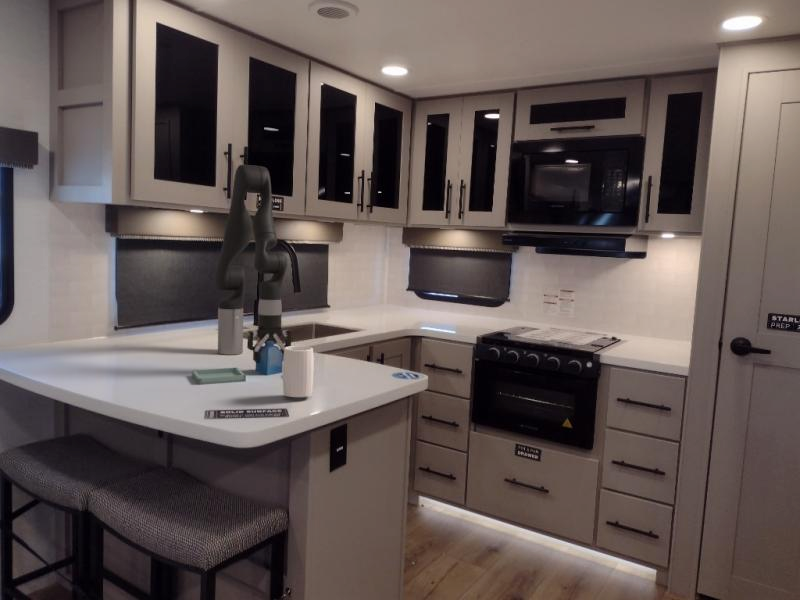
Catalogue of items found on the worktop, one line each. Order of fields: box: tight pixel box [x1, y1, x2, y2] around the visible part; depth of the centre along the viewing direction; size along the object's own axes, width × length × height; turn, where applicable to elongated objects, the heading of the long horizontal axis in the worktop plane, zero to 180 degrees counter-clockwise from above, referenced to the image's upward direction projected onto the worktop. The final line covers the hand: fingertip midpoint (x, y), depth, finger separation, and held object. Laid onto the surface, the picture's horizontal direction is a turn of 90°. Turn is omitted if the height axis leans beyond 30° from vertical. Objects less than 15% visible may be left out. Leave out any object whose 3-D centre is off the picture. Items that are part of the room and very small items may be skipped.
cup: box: [282, 345, 315, 398], centre depth 167 cm, size 8×8×14 cm
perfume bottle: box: [255, 337, 283, 376], centre depth 198 cm, size 6×6×12 cm
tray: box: [191, 367, 247, 386], centre depth 187 cm, size 12×14×2 cm
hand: (269, 361), depth 198 cm, fingers closed on perfume bottle, 8 cm apart
